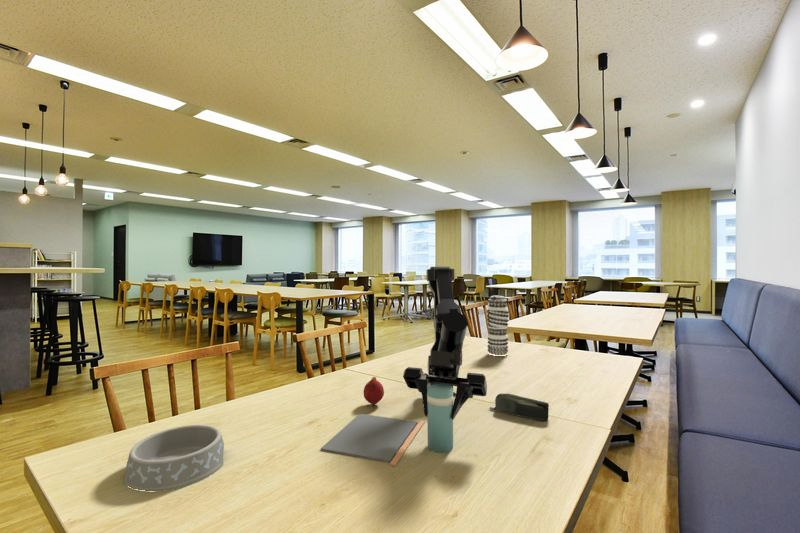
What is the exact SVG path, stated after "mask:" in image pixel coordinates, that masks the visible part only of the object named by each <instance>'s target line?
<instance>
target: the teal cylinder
mask: <svg viewBox="0 0 800 533" xmlns="http://www.w3.org/2000/svg"><path fill="white" fill-rule="evenodd" d="M453 392H454V386H453V387H451V386H449V385H445V384H433V385H430V386H428V388H427V402H428V414H427V448H428V450H430V451H431V452H435V453H439V454H442V453H445V454H446V453H448V452H449V453H450V452H451V451H452V450H453V449H454V420H452V419H451V414H452V408H453V404H454V396H453Z"/></svg>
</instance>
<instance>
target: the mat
mask: <svg viewBox="0 0 800 533" xmlns="http://www.w3.org/2000/svg"><path fill="white" fill-rule="evenodd" d="M418 423H419V421H416V420H415V421H414V420H410V419H409V420H408V419H401V418H394V417H393V418H392V417H387V416H378V415H371V414H366V413H365V414H364V413H359V414H358V415H356V417H355V416H354V418H353V419H352V420H350V421H349V422H348V423H347V424H346V425H345V426H344V427H343V428H341V429H340V430H339V431H338V432H337V433H336V434H335V435H334V436H333V437H332V438H331V439H329V440H328V441H327V442H326V443H325V444H324V445H322V446H321V447H320V451H322V452H323V451H324V452H329V453H335V454H340V455H347V456H353V457H356V458H357V457H358V458H361V459H369V460H374V461H379V462H386V463H390V462H391V461H392V460H393V458H394V457H395V455H396V454H397V453H398V451H399V450H400V448H401V447H402V446H403V444H404V443H405V441H406V440H407V438H408V437H409V436H410V434H411V433H412V431H413V430H414V429H415V427H416V426H417V424H418Z"/></svg>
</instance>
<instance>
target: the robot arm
mask: <svg viewBox="0 0 800 533" xmlns="http://www.w3.org/2000/svg"><path fill="white" fill-rule="evenodd" d="M425 272H426V274H425V275H426V277H425V278H426V282H428V288H429V290H430V291H431V293H432V294H433V310H434V311H433V313H434V314H433V329H434V343H433V344H432V346H431V348H430V351H429V353H430V355H427V356H428V357H427V372H424V371H423V369H422V368H421V367H410V366H408V367H406V368H404V369H405V370H404V371H403V376H402V377H403V379H404V382H405V384H406V386H407V388H409V389H413V390H414V389H415V390H417V391H418V392H419V393H421V397H422V407H423V412H424V413H423V414H424V416H425V417H428V402H427V388H428V386H430V385H433V384H445V385H449V386H451V387H453V388H454V387H456V391H455V392H454V391H453V397H454V396H455V397H454V399H453V408H452V414H451V419H452V420H453V421H454V420H455V418H456V416H457V415H458V413H459V411H460V410H461V408H462V407H463V406H464V404H465V403H466V402H467V401H468V400H469V399H473V397H474V396H477V397H478V396H480V397H486V396H487V391H488V384H487V379H486V376H485V375H484V374H483V373H476V372H467V374H466V377H459V374H460V369H461V368H460V367H461V366H462V365H463V345H464V340H465V338H466V333H467V328H468V327H469V321H468V318H467V317H466V316H465V315H464V314H463V313H462V310H461V307H460V305H459V304H457V303H456V302H455V297H454V290H453V282H454V281H455V279H456V278H455V269H454V268H451V267H450V266H430V267H429V268H427V269H426V271H425Z"/></svg>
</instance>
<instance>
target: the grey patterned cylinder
mask: <svg viewBox="0 0 800 533" xmlns="http://www.w3.org/2000/svg"><path fill="white" fill-rule="evenodd" d="M487 300H488V307H487V310H486V313H487V315H486V317H487V321H488V323H487V327H488V337H487V340H488V341H487V344H488V345H487V353H488V352H489V353H491V354H495V355H505V354H507V353H508V352H509V345H508V344H509V342H508V341H509V338H508V333H507V332H508V330H507V329H509V319H507V318H509V315H508V314H509V311H508V299H507V298H506V296H505V295H491V296H490V297H489V298H488V299H487Z"/></svg>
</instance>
